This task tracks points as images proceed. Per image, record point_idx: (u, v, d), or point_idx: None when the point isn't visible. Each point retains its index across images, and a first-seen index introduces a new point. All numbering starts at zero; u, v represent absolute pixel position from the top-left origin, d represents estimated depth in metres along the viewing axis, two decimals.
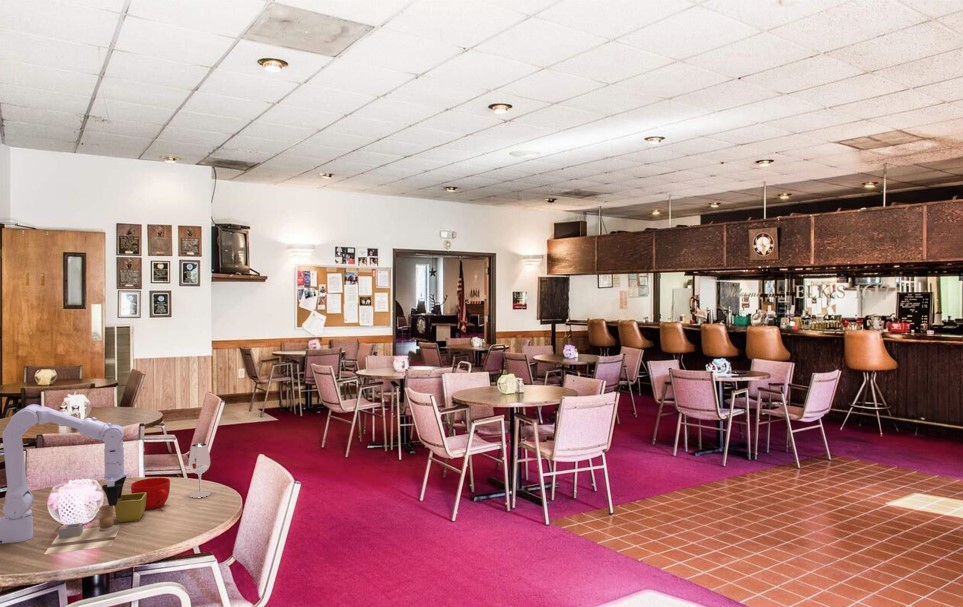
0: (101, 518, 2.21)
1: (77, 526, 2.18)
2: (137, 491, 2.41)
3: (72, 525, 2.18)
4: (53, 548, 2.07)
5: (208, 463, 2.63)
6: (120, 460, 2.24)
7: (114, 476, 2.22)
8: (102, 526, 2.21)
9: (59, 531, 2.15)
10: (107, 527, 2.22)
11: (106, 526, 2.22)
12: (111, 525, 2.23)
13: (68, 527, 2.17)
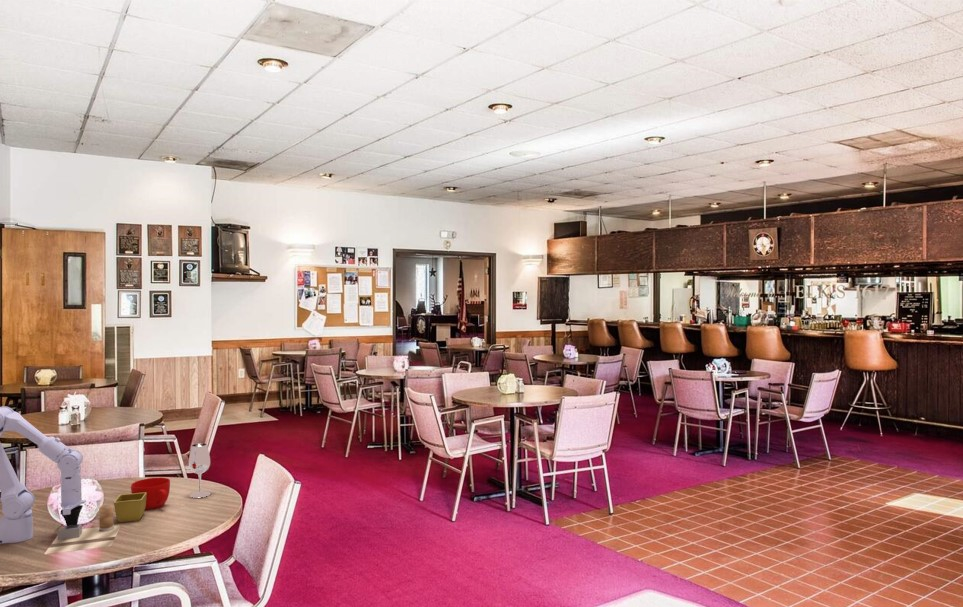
0: (101, 518, 2.21)
1: (76, 527, 2.17)
2: (137, 491, 2.41)
3: (71, 526, 2.17)
4: (53, 548, 2.07)
5: (208, 463, 2.63)
6: (76, 487, 2.18)
7: (71, 503, 2.17)
8: (102, 526, 2.21)
9: (58, 532, 2.14)
10: (107, 527, 2.22)
11: (106, 526, 2.22)
12: (111, 525, 2.23)
13: (67, 528, 2.16)
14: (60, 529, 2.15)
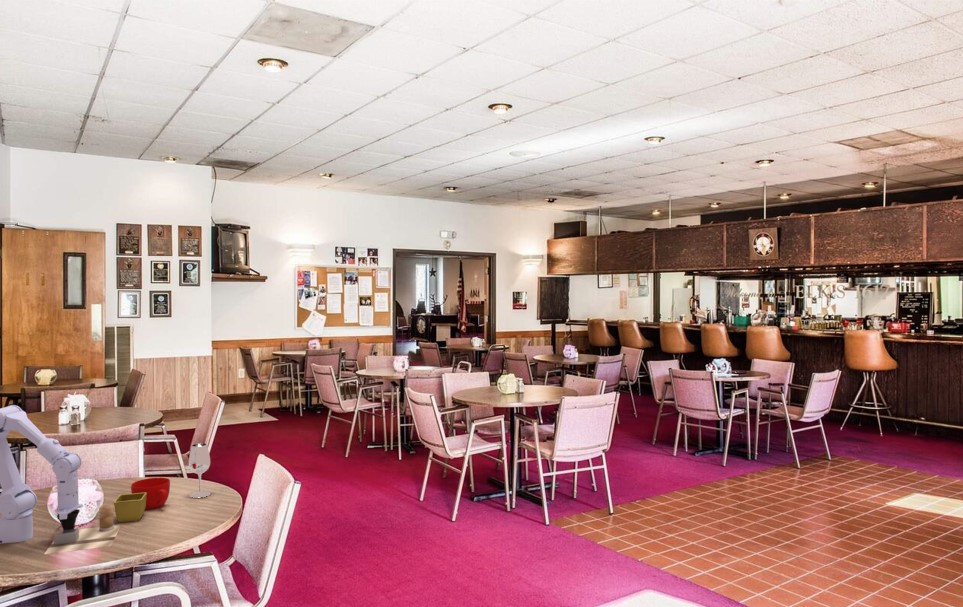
0: (101, 518, 2.21)
1: (73, 532, 2.12)
2: (137, 491, 2.41)
3: (68, 531, 2.13)
4: (53, 548, 2.07)
5: (208, 463, 2.63)
6: (70, 492, 2.14)
7: (67, 508, 2.13)
8: (102, 526, 2.21)
9: (54, 537, 2.10)
10: (107, 527, 2.22)
11: (106, 526, 2.22)
12: (111, 525, 2.23)
13: (64, 533, 2.12)
14: (56, 534, 2.11)
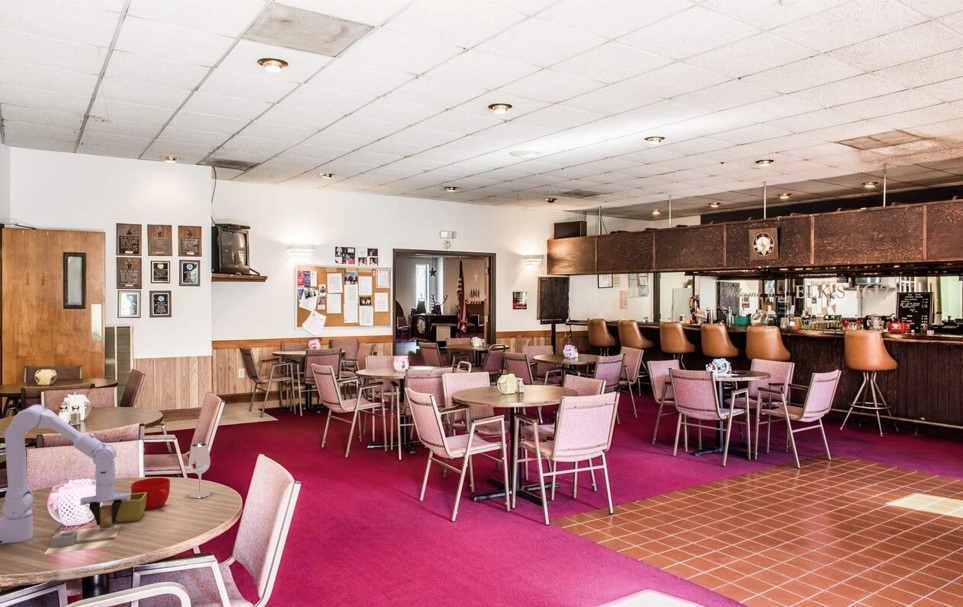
0: (101, 518, 2.21)
1: (71, 535, 2.10)
2: (137, 491, 2.41)
3: (66, 534, 2.11)
4: (53, 548, 2.07)
5: (208, 463, 2.63)
6: (111, 481, 2.22)
7: (95, 497, 2.22)
8: (102, 526, 2.21)
9: (52, 540, 2.08)
10: (107, 527, 2.22)
11: (106, 526, 2.22)
12: (111, 525, 2.23)
13: (62, 536, 2.09)
14: (54, 537, 2.09)
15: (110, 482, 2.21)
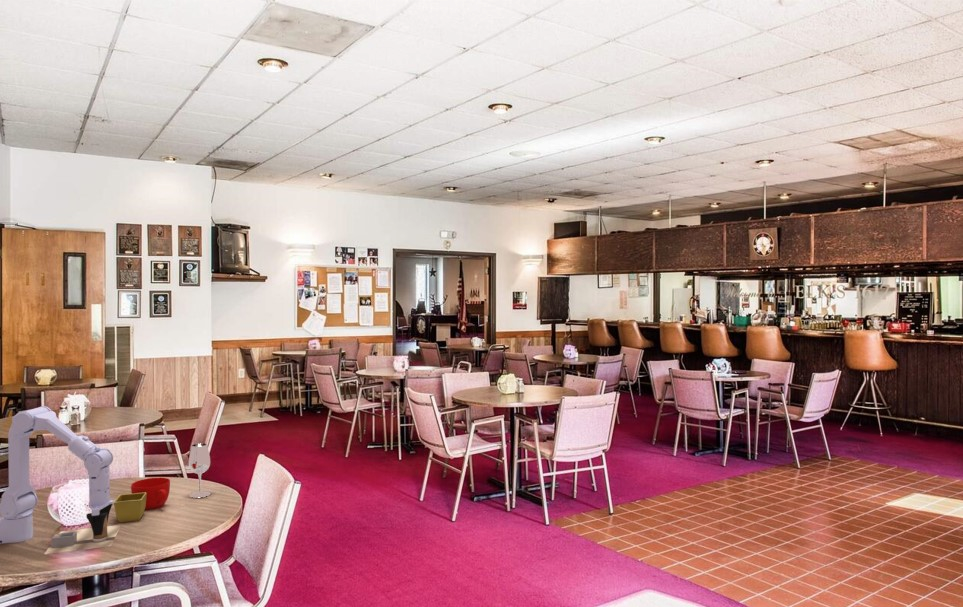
0: (104, 527, 2.13)
1: (71, 535, 2.10)
2: (137, 491, 2.41)
3: (66, 534, 2.11)
4: (53, 548, 2.07)
5: (208, 463, 2.63)
6: (102, 488, 2.11)
7: (99, 504, 2.11)
8: (105, 535, 2.14)
9: (52, 540, 2.08)
10: (107, 535, 2.15)
11: None
12: None
13: (62, 536, 2.09)
14: (54, 537, 2.09)
15: (100, 488, 2.11)
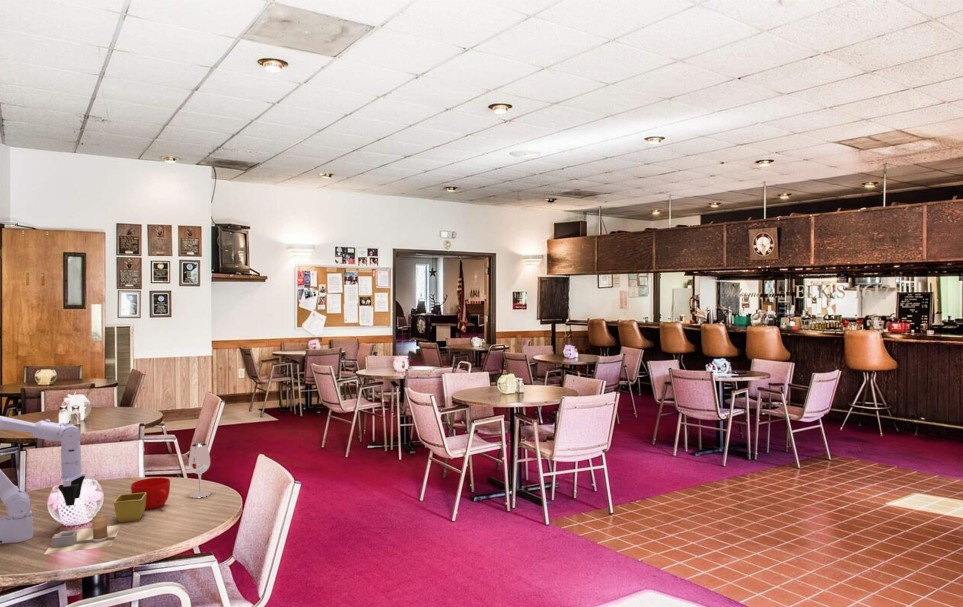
0: (104, 527, 2.13)
1: (71, 535, 2.10)
2: (137, 491, 2.41)
3: (66, 534, 2.11)
4: (53, 548, 2.07)
5: (208, 463, 2.63)
6: (79, 459, 2.24)
7: (71, 476, 2.21)
8: (105, 535, 2.14)
9: (52, 540, 2.08)
10: (107, 535, 2.15)
11: None
12: None
13: (62, 536, 2.09)
14: (54, 537, 2.09)
15: (78, 460, 2.23)
